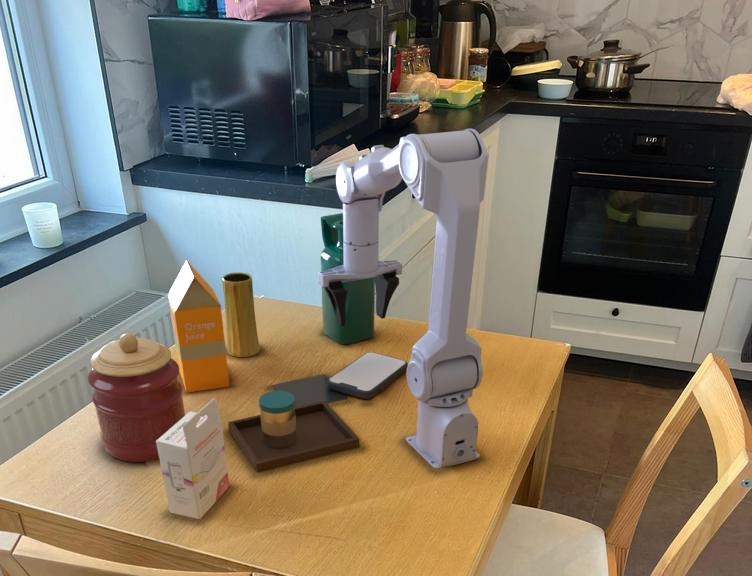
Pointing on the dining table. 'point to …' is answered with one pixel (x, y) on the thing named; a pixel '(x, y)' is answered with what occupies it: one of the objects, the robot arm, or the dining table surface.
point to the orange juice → (198, 332)
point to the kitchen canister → (135, 396)
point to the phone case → (367, 375)
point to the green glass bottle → (358, 294)
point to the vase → (240, 315)
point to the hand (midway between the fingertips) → (360, 320)
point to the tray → (314, 437)
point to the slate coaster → (310, 390)
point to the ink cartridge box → (194, 462)
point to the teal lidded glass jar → (278, 419)
